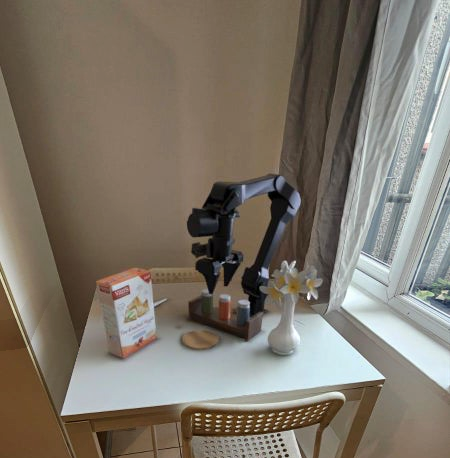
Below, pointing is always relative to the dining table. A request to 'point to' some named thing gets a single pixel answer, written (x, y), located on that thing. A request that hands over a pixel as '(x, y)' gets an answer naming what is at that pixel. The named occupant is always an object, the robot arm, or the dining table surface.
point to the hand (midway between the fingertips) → (218, 289)
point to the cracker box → (127, 310)
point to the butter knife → (159, 302)
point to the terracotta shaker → (224, 306)
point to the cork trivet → (200, 339)
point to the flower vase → (288, 303)
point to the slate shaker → (243, 312)
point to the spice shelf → (225, 321)
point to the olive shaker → (206, 301)
